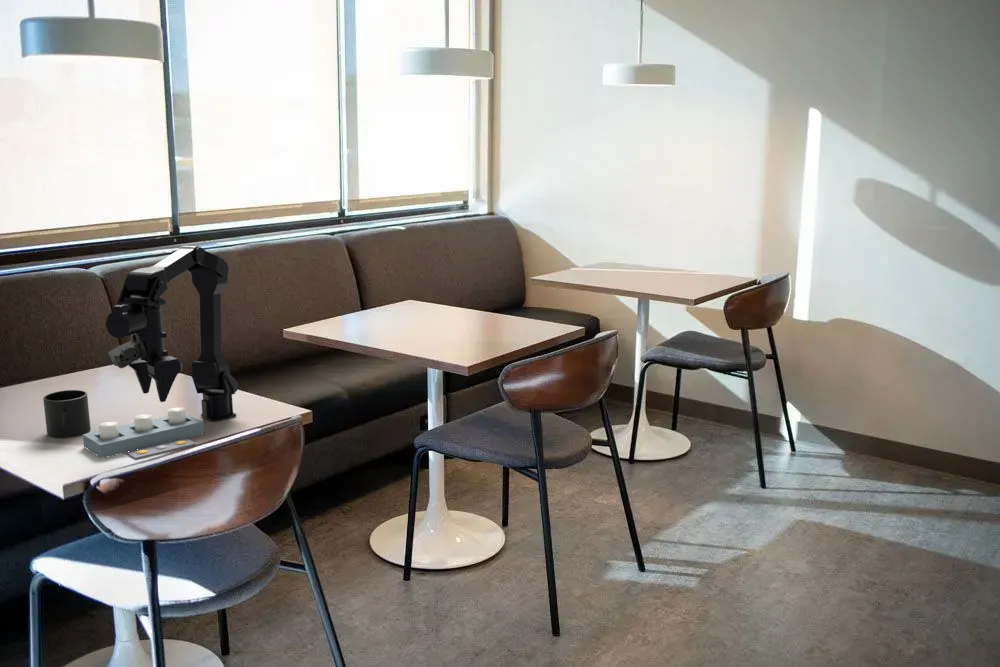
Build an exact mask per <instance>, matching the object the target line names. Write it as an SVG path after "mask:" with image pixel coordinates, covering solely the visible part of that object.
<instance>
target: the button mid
mask: <svg viewBox="0 0 1000 667" xmlns="http://www.w3.org/2000/svg"><path fill="white" fill-rule="evenodd" d="M153 419H154V418H153V415H152V414H149V413H148V414H138V415H136V416H134V417H133V423H134V424H135V431H136V432H138V433H140V432H144V431H149V430H153V429H154V428H153Z"/></svg>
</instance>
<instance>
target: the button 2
mask: <svg viewBox="0 0 1000 667" xmlns="http://www.w3.org/2000/svg"><path fill="white" fill-rule="evenodd" d="M186 411H187V410H186V408H185V407H172V408H169V409H167V416H168V423H169V424H171V425H175V424H180V423H184V422H186V414H187V412H186Z"/></svg>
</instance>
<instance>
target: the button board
mask: <svg viewBox="0 0 1000 667" xmlns="http://www.w3.org/2000/svg"><path fill="white" fill-rule="evenodd" d="M204 426H205V425H204V421H202V420H201V419H199V418H196V417H194V416H193V415H190V414H188V413H186V422H184V423H180V424H175V425H171V424H169V423H168V415H166V416H161V417H158V418H157V417H156V418H153V428H154V429H153V430H149V431H144V432H140V433H138V432H136V431H135V424H134V422H133V423H129V424H125V425H120V426H119V425H118V429H119V437H118V438H113V439H109V440H104V441H102V440H100V433H99V430H98V431H92V432H87V433H85V434H83V435H82V441H83V442H82V443H83V447H84V448H85V447H86V448H88V449H89V450H90V451H89V450H88V449H87V450H88V451H89V452H91V451H92V452H91V453H93V454H94V453H95V454H94V455H96V454H97V455H98V456H97V455H96V456H97V457H99V456H100V457H99V458H101V459H103V458H102V457H105V458H108V457H107V456H109V457H113V456H117V455H121V454H120V453H122V454H124V452H128V451H133V450H137V449H142V448H146V447H150V446H154V445H159V444H163V443H167V442H171V441H175V440H180V439H184V438H187V439H189V438H193V437H196V436H195V435H197V436H200V435H199V434H201V435H203V434H202V433H204V434H205V429H204V428H205V427H204ZM86 448H85V449H86ZM116 454H117V455H116ZM112 455H113V456H112Z"/></svg>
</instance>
